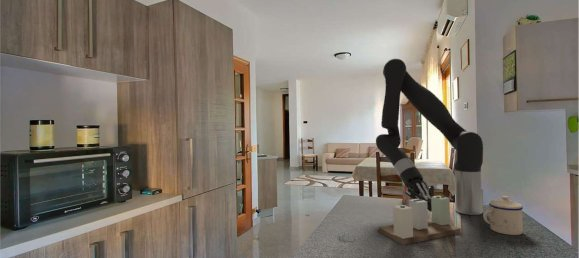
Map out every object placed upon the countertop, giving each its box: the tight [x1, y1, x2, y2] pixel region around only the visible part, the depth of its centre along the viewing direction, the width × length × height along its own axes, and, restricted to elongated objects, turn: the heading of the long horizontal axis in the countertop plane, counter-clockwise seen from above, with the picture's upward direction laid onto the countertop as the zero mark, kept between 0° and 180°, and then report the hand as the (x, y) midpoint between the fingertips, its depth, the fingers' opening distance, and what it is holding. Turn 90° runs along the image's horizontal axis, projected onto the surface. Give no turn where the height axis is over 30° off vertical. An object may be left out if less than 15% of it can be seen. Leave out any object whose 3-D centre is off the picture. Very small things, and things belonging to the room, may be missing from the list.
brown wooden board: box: [377, 217, 462, 246], centre depth 96 cm, size 24×12×2 cm, turn 110°
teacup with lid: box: [482, 195, 524, 236], centre depth 95 cm, size 12×9×12 cm
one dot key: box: [392, 204, 413, 239], centre depth 89 cm, size 4×4×9 cm
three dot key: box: [409, 199, 429, 230], centre depth 96 cm, size 4×4×9 cm
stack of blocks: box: [401, 181, 416, 207], centre depth 126 cm, size 21×6×12 cm, turn 167°
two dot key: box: [431, 195, 451, 225], centre depth 99 cm, size 4×4×9 cm
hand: (433, 210), depth 102 cm, fingers closed
